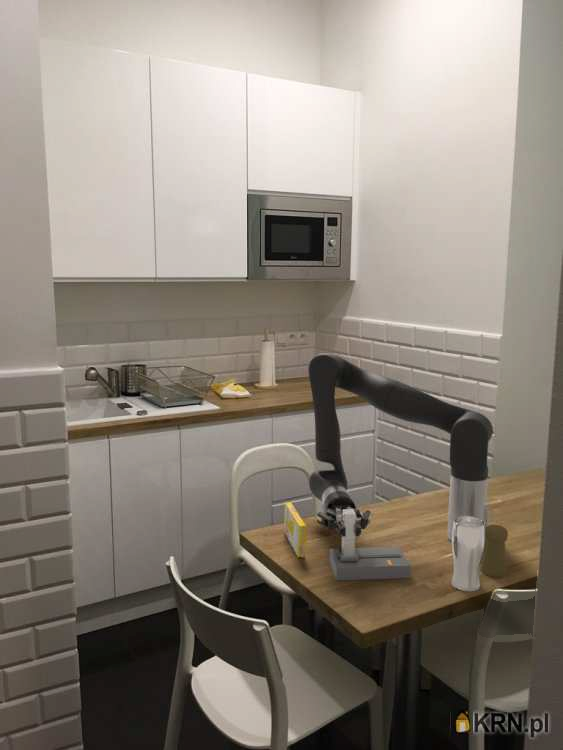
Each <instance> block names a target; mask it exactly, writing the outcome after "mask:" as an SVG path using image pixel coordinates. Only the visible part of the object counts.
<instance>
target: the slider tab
mask: <svg viewBox="0 0 563 750" xmlns="http://www.w3.org/2000/svg"><path fill="white" fill-rule="evenodd" d="M355 520H356V514H355V512H354V510H353V509H343V510H342V522H343V523H344V525H345V527H346V536H345V537H342V536H341V547H337V548H338V554H339V557H340V560H341V562H342V561H358V558H359V557H358V555H357V552H356V550H355V548H356V547H355V546H356V544H355V543H356V535H355Z"/></svg>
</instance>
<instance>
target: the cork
mask: <svg viewBox="0 0 563 750" xmlns="http://www.w3.org/2000/svg"><path fill="white" fill-rule="evenodd" d="M508 535H509V533H508V530H507V528H505V527H504V526H503V525H499V524H488V526H487V527H486V528H485V538H486V543H485V544H484V551H483V555H482V559H481V563H480V567H479V572H481V573H482V574H483V575H485V576H488V577H490V578H491V577H493V578H503V577H506V576H507V575H508V569H507V568H508V567H507V554H506V553H507V552H506V542H507V540H508V537H509V536H508Z"/></svg>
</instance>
